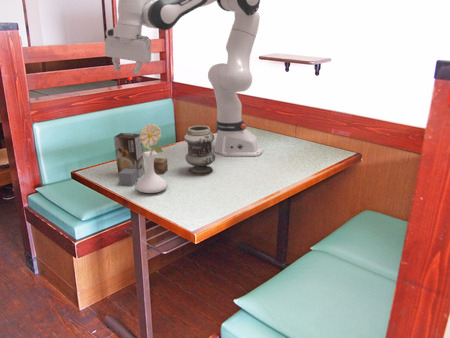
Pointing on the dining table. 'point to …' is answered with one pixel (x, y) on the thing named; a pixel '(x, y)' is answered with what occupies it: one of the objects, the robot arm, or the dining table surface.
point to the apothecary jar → (199, 149)
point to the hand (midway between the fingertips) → (126, 72)
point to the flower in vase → (151, 161)
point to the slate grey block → (128, 177)
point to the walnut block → (160, 165)
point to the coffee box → (129, 152)
